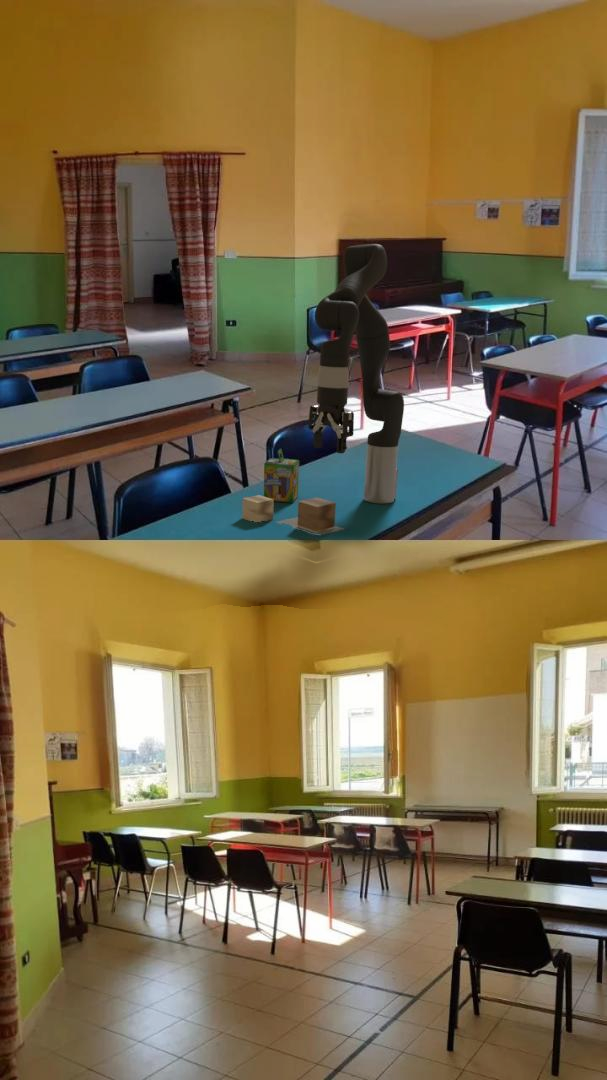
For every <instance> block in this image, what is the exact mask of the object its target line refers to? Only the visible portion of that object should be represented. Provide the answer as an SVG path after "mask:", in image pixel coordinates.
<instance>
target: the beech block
mask: <svg viewBox="0 0 607 1080" xmlns="http://www.w3.org/2000/svg"><path fill="white" fill-rule="evenodd" d="M274 502H275V501H274V499H270V498H267V497H264V495H260V494H257V495H253V496H248V497H243V498H242V514H241V515H242V518H241V519H243V520H246V521H250V522H252V521H254V522H253V523H255V522H260V523H262V522H261V521H265V522H268V521H273V520H274V505H275V503H274Z"/></svg>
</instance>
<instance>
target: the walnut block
mask: <svg viewBox="0 0 607 1080" xmlns="http://www.w3.org/2000/svg"><path fill="white" fill-rule="evenodd" d="M297 502H298V503H297V517H298V524H297V527H300V528H303V529H306V530H309V531H312V532H315V533H317V532H321V531H325V530H329V529H333V528H334V527H335V526H336V525H335V524H336V523H335V522H336V508H337V506H336V504H337V503H336V502H333V501H330V500H328V499H327V500H326V499H324V498H320V497H312V498H308V499H303V500H299V501H297Z"/></svg>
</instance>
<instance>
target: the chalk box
mask: <svg viewBox="0 0 607 1080" xmlns="http://www.w3.org/2000/svg"><path fill="white" fill-rule="evenodd" d="M277 457H278V458H276V457H271V458H269V459H268V460H266V461H265V462H264V465H263V474H264V475H263V479H264V480H263V481H264V482H263V483H264V484H263V496H264V497H267V498H270V499H274V502H282V503H294V502H295V501H296V500H297V499H298V497H299V486H300V485H299V481H300V479H299V477H300V460H299V459H290V458H284V455H283V450H282V448H279V449H278V451H277Z"/></svg>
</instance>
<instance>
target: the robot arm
mask: <svg viewBox="0 0 607 1080" xmlns="http://www.w3.org/2000/svg"><path fill="white" fill-rule="evenodd" d="M342 256H343V268H344V269H343V271H344V276H345V278H343V279H342V280H341V281H340V282H339V284H338V285H337V287H336V289H335V290H334V291H332V292H330V294H327V295H326V296H325V297H323V298H322V299H320V301H319V303H318V304H317V305H316V307H315V311H314V322H315V324H316V326H317V327H318V328H319V329H321V330H322V331H332V332H333V331H334V332H341V334H340V336H339V337H338V338H337V339H333V340H326V341H324V342H322V343H321V345H320V353H319V355H320V358H319V370H318V376H317V393H316V402H317V404H318V405H310V407H309V414H308V415H309V416H308V422H307V423H308V424H307V426H308V427H307V428H308V429H309V430H311V431H312V432H313V448H315V449H321V448H322V447H323V438H324V433H323V431H324V430H325V429H326V427H330V428H332V429H333V431H334V432H335V433H336V436H337V438H336V439H337V441H336V453H337V454H344V453H345V452H346V450H347V439H348V438H350V437H353V436H354V427H355V426H354V424H355V417H354V416H355V413H354V412H353V411H345V406H347V404H348V398H349V397H348V394H349V379H350V378H349V377H350V376H349V373H350V372H349V365H350V364H349V361H350V360H349V359H350V351H351V345H352V342H353V337H354V334H355V337H356V345H357V351H358V356H359V364H360V372H361V383H362V400H363V401H362V403H363V410H364V414H365V416H366V417H367V418H368V419H370V420H373V421H377V422H383V425H382V428H381V429H379V430H378V431H374V432H371V433H369V434H368V435H367V444H366V461H365V462H366V463H365V473H364V474H365V475H364V476H365V477H364V487H363V488H364V490H363V500H364V501H366V502H369V503H371V504H372V503H374V504H391V503H393V502H394V501H395V500H394V499H397V491H398V490H397V488H398V475H399V469H398V468H397V465H398V454H399V453H398V452H399V441H400V437H401V435H402V427H403V419H404V411H405V400H404V397H403V394H402V393H401V392H399V391H396V390H395V391H394V390H389V389H382V388H381V383H380V372H381V371H382V367H383V365H384V364H385V361H386V359H387V358H388V355H389V353H390V349H391V340H390V332H389V326H388V322H387V321H386V319H385V317H384V316H383V314H381V312H380V311H379V309H378V308H377V307H376V306H375V305H374V304H373V303H372V301H371V300H370V299H369V296H368V294H367V293H368V292H369V291H371V289H373V288H374V287H375V286H376V285H377V283H379V282H380V281H381V280H382V279H383V278H384V276H385V275H386V272H387V267H388V257H387V252H386V250H385V247H384V246H382V245H381V244H378V243H370V244H369V243H368V244H361V245H360V244H358V245H351V246H348V247H346V248H345V249H344V251H343V255H342Z"/></svg>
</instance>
